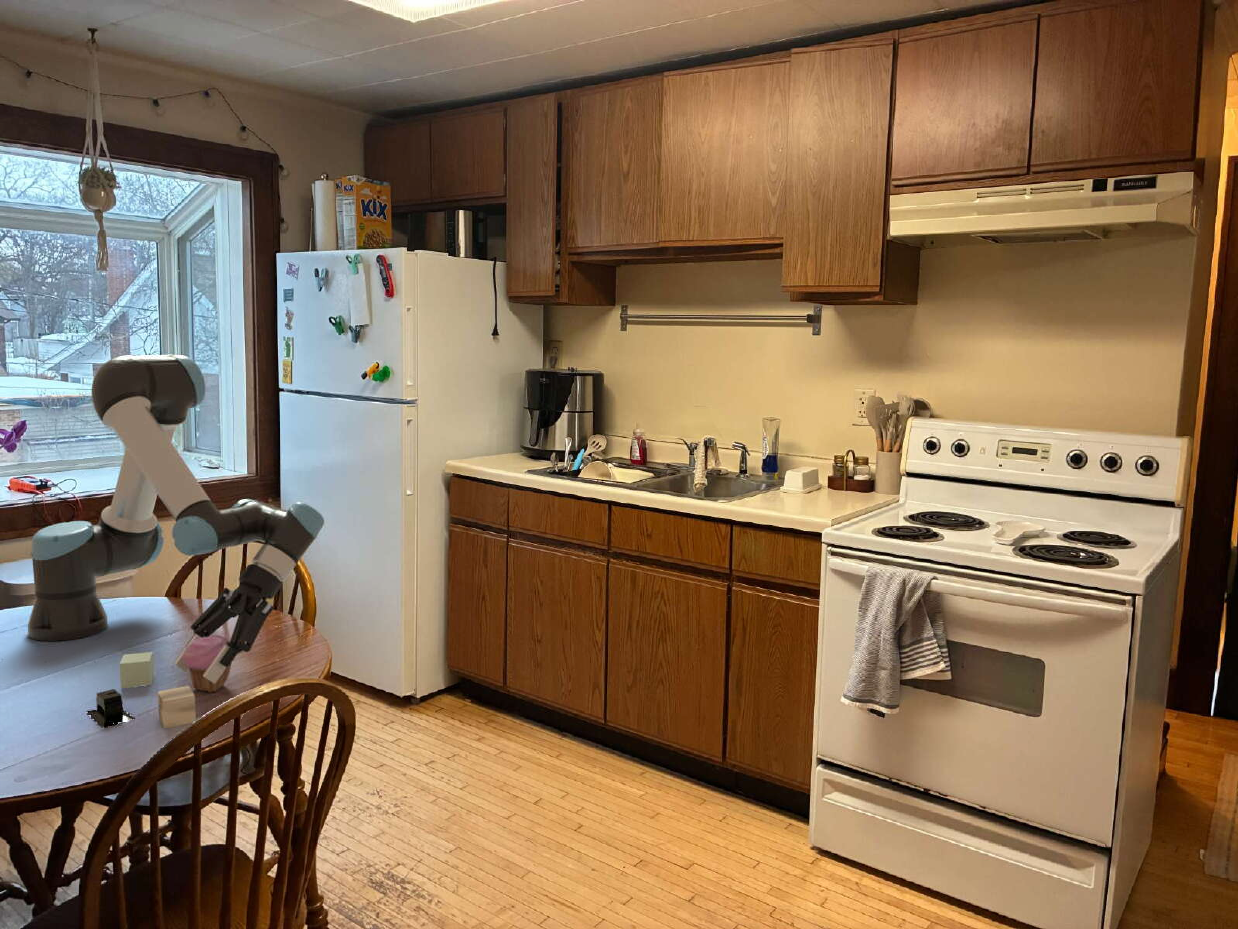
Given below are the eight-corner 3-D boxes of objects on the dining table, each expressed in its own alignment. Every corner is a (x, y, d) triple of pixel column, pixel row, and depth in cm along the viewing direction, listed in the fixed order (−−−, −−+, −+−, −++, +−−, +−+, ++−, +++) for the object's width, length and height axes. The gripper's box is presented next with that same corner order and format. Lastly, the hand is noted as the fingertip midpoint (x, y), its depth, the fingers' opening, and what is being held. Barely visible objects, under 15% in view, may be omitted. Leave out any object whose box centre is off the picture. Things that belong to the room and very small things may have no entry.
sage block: (125, 679, 180) (123, 654, 179) (154, 676, 181) (152, 652, 181) (121, 689, 175) (119, 663, 174) (150, 686, 177) (149, 661, 176)
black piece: (144, 724, 162) (143, 699, 161) (99, 737, 156) (97, 711, 156) (119, 702, 170) (117, 678, 169) (74, 714, 165) (73, 689, 164)
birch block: (159, 718, 163) (157, 691, 162) (189, 712, 166) (188, 685, 165) (164, 729, 159) (162, 701, 158) (195, 722, 162) (194, 695, 161)
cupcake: (174, 693, 174) (172, 641, 172) (208, 676, 182) (206, 627, 180) (214, 699, 171) (211, 647, 170) (246, 683, 179) (244, 633, 178)
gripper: (313, 593, 180) (241, 697, 170) (246, 573, 192) (176, 669, 182) (288, 572, 175) (213, 678, 165) (221, 553, 187) (148, 651, 177)
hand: (194, 673), depth 173 cm, fingers closed on cupcake, 9 cm apart
